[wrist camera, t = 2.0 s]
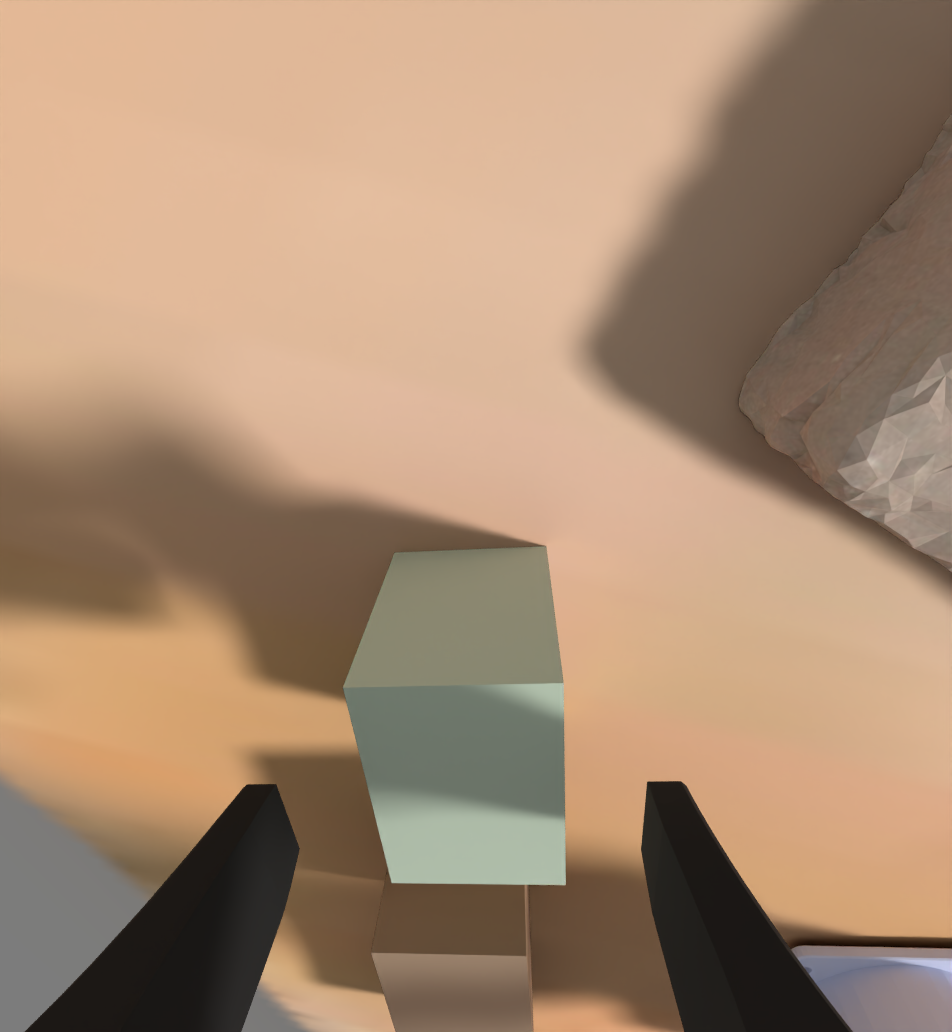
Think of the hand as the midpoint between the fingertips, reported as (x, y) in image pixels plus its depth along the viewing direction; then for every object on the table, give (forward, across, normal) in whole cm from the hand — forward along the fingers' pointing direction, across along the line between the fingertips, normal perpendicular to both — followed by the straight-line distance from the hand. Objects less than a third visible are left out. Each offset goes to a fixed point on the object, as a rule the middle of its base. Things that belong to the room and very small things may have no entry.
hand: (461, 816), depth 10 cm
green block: (+6, 0, 0) cm, 6 cm away
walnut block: (+5, +1, +9) cm, 11 cm away
